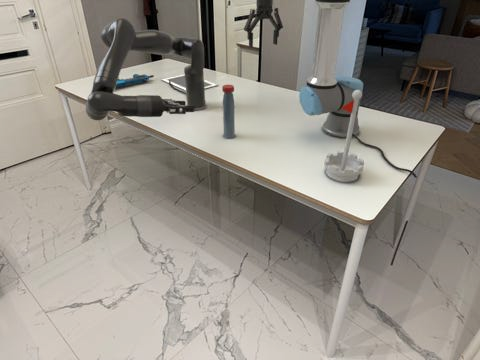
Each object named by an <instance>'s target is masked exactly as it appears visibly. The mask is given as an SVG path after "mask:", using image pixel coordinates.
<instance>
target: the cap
mask: <svg viewBox="0 0 480 360" xmlns="http://www.w3.org/2000/svg"><path fill="white" fill-rule="evenodd" d="M221 91H222V93H224V92H225V93H231V92H232V93H234V92H235V86H234V85H233V84H223V85H222V90H221Z"/></svg>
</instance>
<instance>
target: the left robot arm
mask: <svg viewBox="0 0 480 360" xmlns="http://www.w3.org/2000/svg"><path fill="white" fill-rule="evenodd" d="M100 31H101V32H100V39H101V41H102V43H103V44H104V45H105V46H106V47H107V48H108V51H107V52H106V54H105V55H104V57H103V58H102V59H101V62H100V63H99V65H98V67H97V70H96V72H95V75H94V78H93V83H92V88H91V92H90V94H89V95H88V96H87V98H86V99H87V100H86V104H85V113H86V115H87V117H88V118H90V119H91V120H93V121H102V120H105V118H106V117H107V116H108V115H109V112H114V113H117V116H119V117H125V118H127V117H131V118H132V117H138V118H160V117H162V116H163V113H164V112H166V113H168V114H170V115H186V113H195V111H200V110H204V109H205V108H206V107H207V105H206V103H207V100H206V93H205V90H206V89H204V80H205V76H204V68H205V46H204V42H203V41H202V40H201V39H200V38H195V37H187V36H186V37H183V36H182V37H181V36H180V37H178V36H172V35H171V34H170V33H168V32H166V31H161V30H158V29H145V30H138V31H137V30H136V28H135V26H134V25H133V23H132V22H131V21H130V20H129V19H128V18H125V17H118V18H116V19H114V20H112V21H110V22H109V23H108V24H106V25H105V26H104V27H103V28H102V30H100ZM129 52H140V53H145V54H146V53H147V54H153V55H159V56H167V55H176V56H178V57H182V58H185V59H189V60H190V64H189V65H186V66H184V68H183V72H184V74H185V84H186V91H184V90H182V89H180V88H177V87H176V86H173V85H171V81H170V80H169V83H168V84H169V86H170V87H171V88H172V89H173V90H175V91H177V92H179V93H181V94H184V95H186V100H176V99H172V98H162V96H161V95H154V94H153V95H149V94H142V95H141V94H139V95H121V94H119V93H118V94H117V93H115V90H116V88H117V87H116V84H117V80H118V79H119V78H120V77H119V76H120V74H121V70H122V68H123V65H124V63H125V61H126V58H127V56H128V54H129ZM184 74H183V75H184ZM115 87H116V88H115Z"/></svg>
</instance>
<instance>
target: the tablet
mask: <svg viewBox="0 0 480 360" xmlns="http://www.w3.org/2000/svg"><path fill="white" fill-rule="evenodd" d="M169 80H170V81H171V85H172V86H173V87H175V88H177V89H179V90H181V91H184V92H186V84H185V74H179V75H176V76H171V77H167V78H162V79H161V81H162V82H164V83H167V84H169ZM218 86H219V84H217V83H214V82H212V81H209V80H206V79H204V89H205V90H206V89H210V88H214V87H218Z"/></svg>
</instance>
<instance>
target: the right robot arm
mask: <svg viewBox="0 0 480 360" xmlns="http://www.w3.org/2000/svg"><path fill="white" fill-rule="evenodd" d="M273 3H274V0H256V3H255V5H256V9H254V8H250V9H249V15H248V18H247V20H246V23H245V25H244V27H243V31H245V32H247V37H246V38H247V40H248V47H249V48H254V32H253V31H254V29H255V28H256V26H257V25H258V23H259V21H261V20H268V21H269V22H270V23H271V25H272V26H273V28H274V29H273V35H272V36H273V38H272V44H273V45H275V46H277V45H278V38H279V37H280V31H281V29H283V28H284V25H283V23H282V19H281V17H280V14H279V8H278V7H275V6H274V7H273ZM350 3H351V0H315V4H316V5H317V6H318V14H317V21H316V22H317V23H316V31H315V41H314V49H313V59H312V69H311V75H310V76H309V77H308V78H306V84H305V86H303V87H302V88H301V89H300V91H299V94H298V99H299V103H300V106H301V108H302V110H303V112H304V113H305V114H307V115H308V116H321V115H324V114H328V115H327V117H326V120H325V121H324V123H323V126H322V130H323V132H324V133H325V134H326V135H329V136H332V137H335V138H339V139H341V138H342V139H346V138H347V133H348V127H349V122H350V117H351V113H350V112H348V111H346V110H343V109H341V108H342V107H344V106H345V105H347V104H348V103H350V102H351V101H353V100H354V98H353V97H352V94H353V92H354V91H355V90H360V91H361V92H362V93H363V92H364V91H363V89H364V82H363V81H362V80H361V79H359V78H356V77H353V76H346V75H336V76H335V72H336V67H337V59H338V53H339V46H340V41H341V33H342V28H343V27H342V26H343V19H344V12H345V8H346V7H347V6H348V5H349V4H350ZM272 14H273V15H272ZM361 101H362V97H361V98H360V99H359V101H358V107H357V112H356V117H355V122H354V127H353V132H352V137H351V138H354V139H356V140H357V141H358V142H359V143H360V144H362V145H364V146H366V147H370V148H373V149H376V150H378V151H379V152H380V153H381V157H382V158H383V159H384V161H385V162H386V163H387V164H388V165H389V166H390V167H392V168H394V169H396V170H398V171H402V172H407V173H410V174H411V175H412V176H413V177H414V178H415V179H417V178H418V176H417V174H416V173H415V172H414V171H412V170H411V169H408V168H403V167H399V166H396V165H395V164H393V163H392V162H390V160H389V159H388V158H387V157H386V155H385V153H384V151H383V149H382V148H380V147H378V146H376V145H373V144H370V143H366V142H364V141H362V139H360V138H359V137H358V136H357V135H359V132H360V125H359V118H358V117H359V116H358V114H359V111H360V110H359V109H360V105H361ZM408 224H409V220H405V222H404V226H403V228H402V231H401V234H400V236H399V239H398V241H397V245H396V247H395V250H394V253H393V255H392V258H391V262H390V266H393V265H394V261H395V260H396V257H397V253H398V251H399V248H400V245H401V242H402V239H403V237H404V235H405V232H406V229H407V226H408Z"/></svg>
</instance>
